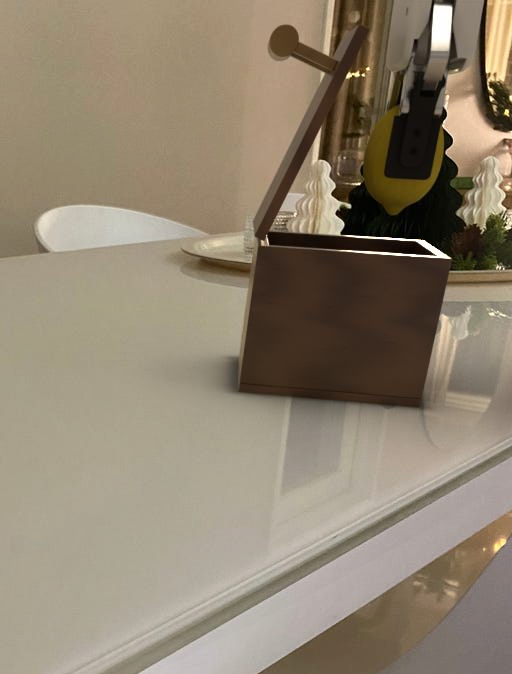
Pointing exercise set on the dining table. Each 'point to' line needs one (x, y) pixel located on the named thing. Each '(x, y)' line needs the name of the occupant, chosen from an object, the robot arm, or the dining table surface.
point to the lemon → (394, 190)
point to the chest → (341, 317)
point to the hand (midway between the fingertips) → (400, 173)
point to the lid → (335, 70)
